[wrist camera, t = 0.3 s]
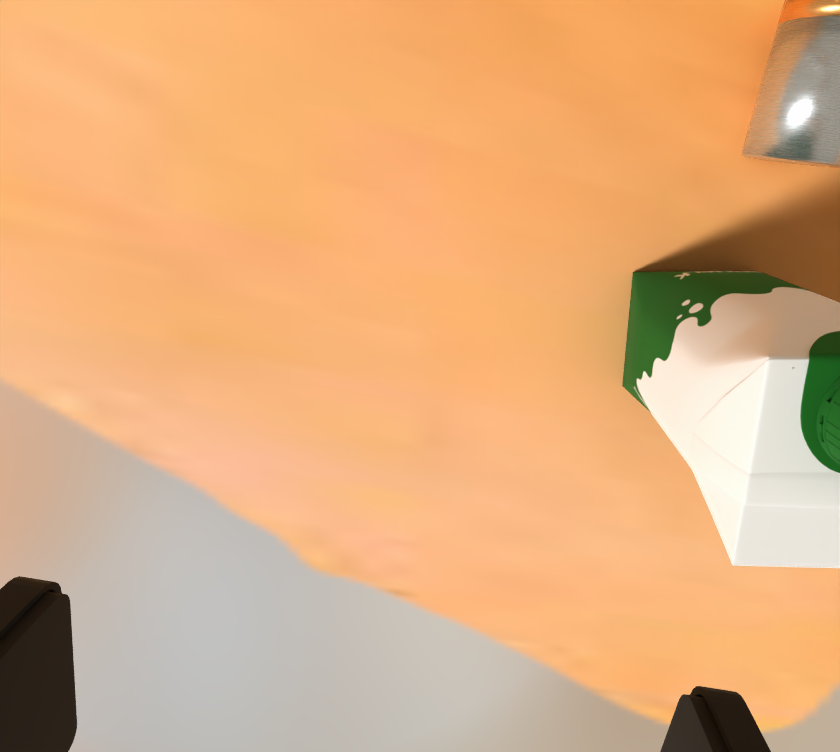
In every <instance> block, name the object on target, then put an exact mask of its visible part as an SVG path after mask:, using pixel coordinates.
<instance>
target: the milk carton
mask: <svg viewBox="0 0 840 752" xmlns="http://www.w3.org/2000/svg"><path fill="white" fill-rule="evenodd" d="M623 387H624V388H625V389H626V390H627V391H629V392H630V393H631V394H632V395H633V396H634V397H635V398H636V399H637V400H638V401H639V402H640V403H641V404H642V405H643V406H644V407H645V408H646V409H648V410H649V411H650V413H651V414H652V415H653V417H654V418H655V419H656V421H657V422H658V423H659V425H660V426H661V428H662V429H663V430H664V432H665V433H666V434H667V436H668V437H669V439H670V440H671V441H672V443H673V444H674V445H675V447H676V448H677V450H678V451H679V452H680V454H681V455H682V456H683V458H684V459H685V461H686V462H687V463H688V465H689V466H690V468H691V469H692V471H693V473H694V475H695V478H696V480H697V482H698V484H699V487H700V489H701V491H702V494H703V496H704V498H705V501H706V503H707V505H708V508H709V510H710V512H711V514H712V517H713V519H714V522H715V524H716V526H717V529H718V531H719V534H720V536H721V538H722V541H723V543H724V545H725V548H726V550H727V553H728V555H729V558H730V560H731V563H732V565H736V566H774V567H815V568H840V302H837V301H835V300H832V299H829V298H827V297H824V296H822V295H819V294H816V293H814V292H811V291H809V290H806V289H804V288H801V287H798V286H796V285H793V284H791V283H788V282H786V281H783V280H780V279H778V278H775V277H773V276H770V275H767V274H765V273H761V272H756V271H679V272H633V278H632V289H631V300H630V310H629V321H628V332H627V343H626V354H625V364H624V375H623Z"/></svg>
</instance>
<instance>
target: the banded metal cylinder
mask: <svg viewBox="0 0 840 752" xmlns="http://www.w3.org/2000/svg"><path fill="white" fill-rule="evenodd" d="M741 155H742V156H745V157H749V158H755V159H761V160H768V161H776V162H783V163H792V164H801V165H810V166H821V167H834V168H840V0H785V2H784V6H783V9H782V13H781V17H780V20H779V24H778V27H777V31H776V34H775V38H774V41H773V45H772V48H771V52H770V55H769V59H768V62H767V66H766V69H765V73H764V76H763V80H762V83H761V87H760V90H759V94H758V98H757V101H756V105H755V108H754V112H753V115H752V119H751V122H750V126H749V129H748V133H747V136H746V140H745V143H744V147H743V150H742V154H741Z"/></svg>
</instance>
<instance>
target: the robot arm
mask: <svg viewBox="0 0 840 752" xmlns="http://www.w3.org/2000/svg"><path fill="white" fill-rule="evenodd" d="M73 664H74V663H73V645H72V628H71V610H70V600H69V597H68V595H66V594H62V592H61V587H60V586H59V584H58V583H56V582H50V581H44V580H38V579H32V578H26V577H20V576H19V577H16V578H13V579H12V580H11V581H9V582H8V583H7V584H6V585H5V586H4V587H2V588H1V589H0V752H68V751H69V749H70V747H71V745H72V743H73V740H74V737H75V733H76V729H77V716H76V699H75V681H74V665H73ZM661 752H771V751H770V749H769V747H768V745H767V743H766V741H765V739H764V738H763V736H762V734H761V732H760V730H759V728H758V726H757V724H756V722H755V720H754V718H753V716H752V714H751V712H750V711H749V709H748V707H747V705H746V703H745V701H744V700H743V698H742V697H741V695H739V694H738V693H737V692H732V691H726V690H720V689H714V688H707V687H701V686H696V687H695V688H694V689H693V690H692V692H691V694H690V695H682V696H681V697H680V699H679V702H678V704H677V707H676V710H675V713H674V715H673V718H672V721H671V724H670V727H669V729H668V733H667V735H666V738H665V740H664V743H663V746H662V749H661Z"/></svg>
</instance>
